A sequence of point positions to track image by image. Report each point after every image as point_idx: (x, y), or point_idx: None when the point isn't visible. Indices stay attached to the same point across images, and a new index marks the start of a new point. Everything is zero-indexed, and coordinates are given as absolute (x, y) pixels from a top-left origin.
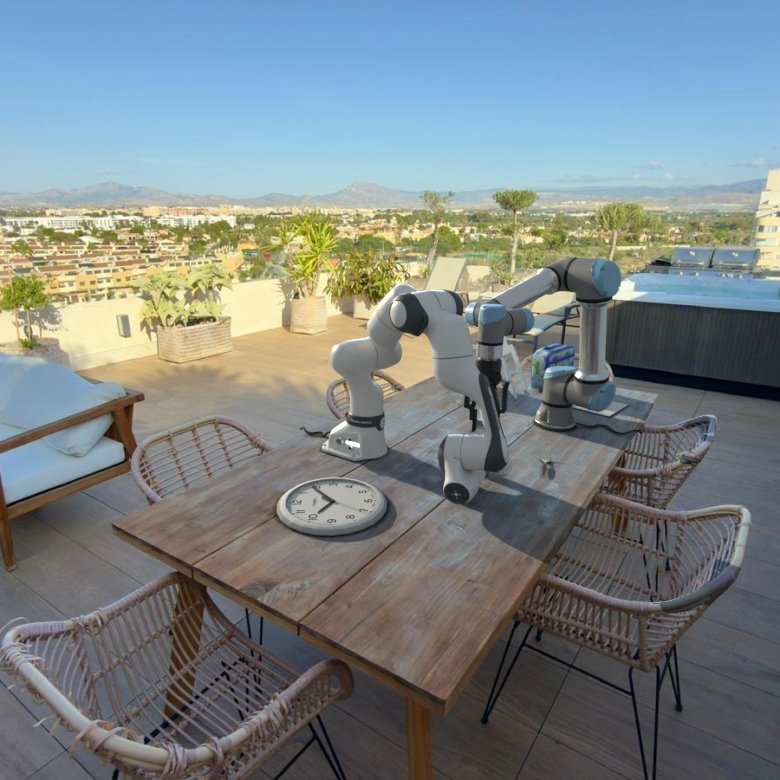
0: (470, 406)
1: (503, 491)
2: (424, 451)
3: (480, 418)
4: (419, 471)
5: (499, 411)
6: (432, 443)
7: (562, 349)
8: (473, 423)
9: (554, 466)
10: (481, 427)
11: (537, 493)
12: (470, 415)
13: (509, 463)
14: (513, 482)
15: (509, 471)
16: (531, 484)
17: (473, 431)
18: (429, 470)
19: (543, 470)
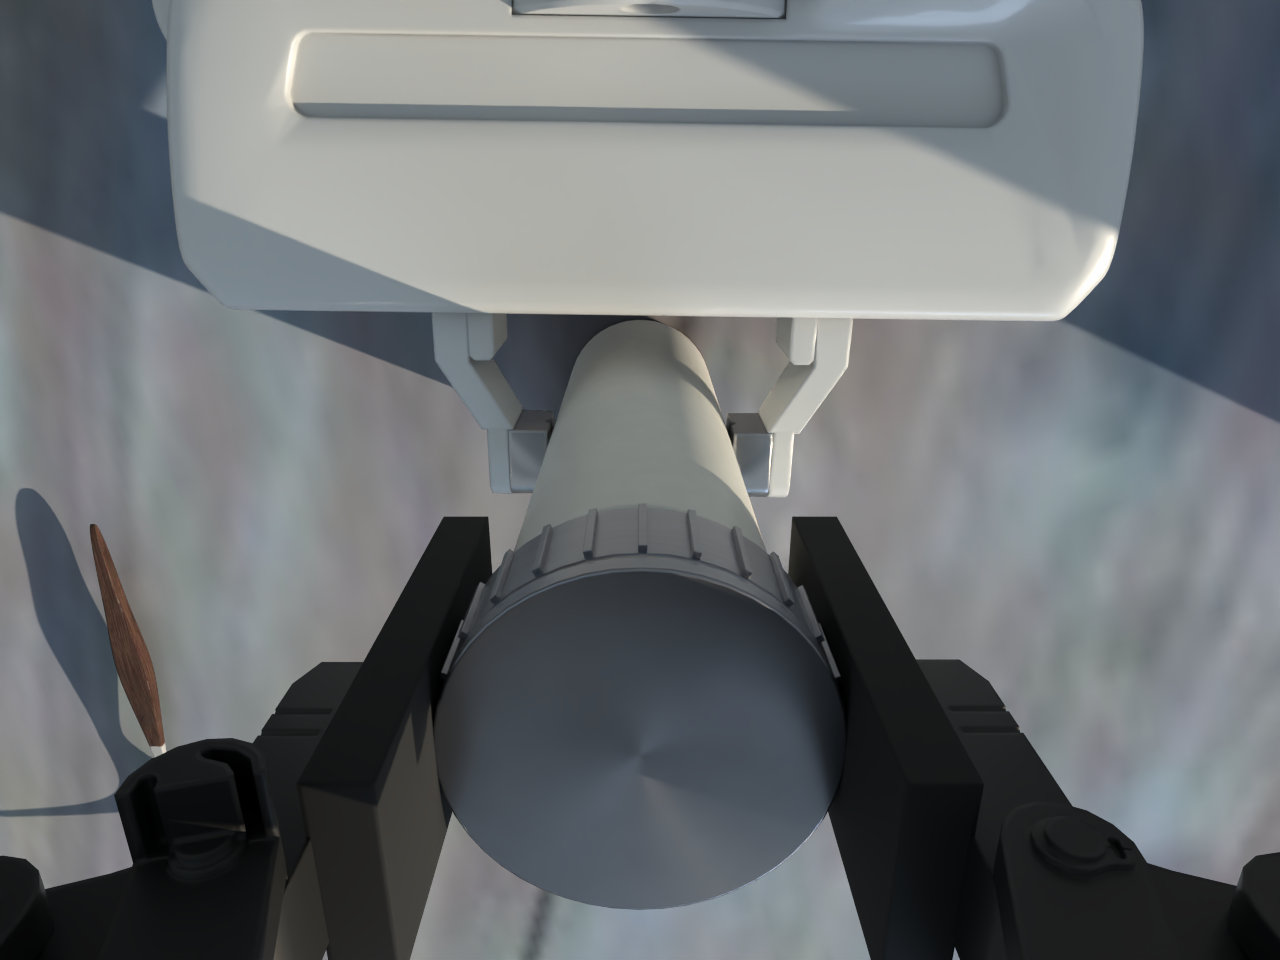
0: (1164, 922)
1: None
2: (1221, 607)
3: (724, 707)
4: (1234, 158)
5: (135, 922)
6: (1162, 779)
7: None
8: (851, 594)
9: (95, 741)
10: None
11: (30, 170)
12: (994, 735)
13: (168, 133)
14: None
15: (157, 17)
16: (144, 336)
17: (804, 519)
18: (1131, 226)
19: (115, 604)
